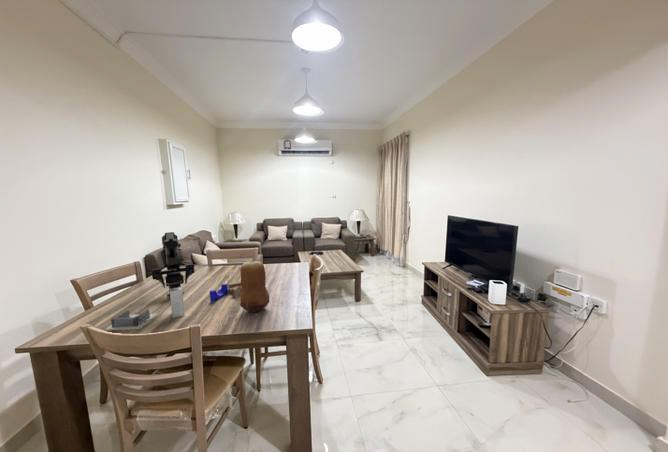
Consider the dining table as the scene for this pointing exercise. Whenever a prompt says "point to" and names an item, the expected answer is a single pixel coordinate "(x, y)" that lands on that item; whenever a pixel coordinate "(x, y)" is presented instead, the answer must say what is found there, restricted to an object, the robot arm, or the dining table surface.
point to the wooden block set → (235, 288)
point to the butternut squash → (253, 287)
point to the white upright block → (177, 302)
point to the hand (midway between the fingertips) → (175, 285)
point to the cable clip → (219, 293)
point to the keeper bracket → (131, 320)
